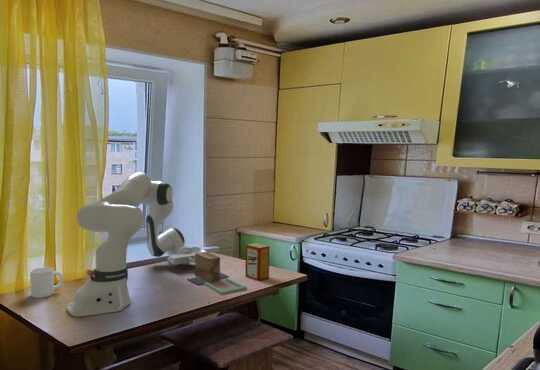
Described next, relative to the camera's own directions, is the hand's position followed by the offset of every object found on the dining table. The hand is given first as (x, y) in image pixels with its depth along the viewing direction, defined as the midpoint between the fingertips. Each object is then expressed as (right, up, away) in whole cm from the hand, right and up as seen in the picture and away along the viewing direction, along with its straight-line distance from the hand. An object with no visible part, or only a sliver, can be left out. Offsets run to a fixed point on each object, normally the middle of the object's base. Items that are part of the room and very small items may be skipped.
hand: (196, 260), depth 206 cm
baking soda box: (+30, -7, -6) cm, 31 cm away
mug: (-55, -8, -34) cm, 66 cm away
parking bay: (+16, -8, -21) cm, 27 cm away
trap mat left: (+3, -7, -14) cm, 16 cm away
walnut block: (+7, -7, -8) cm, 13 cm away
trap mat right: (+11, -6, -4) cm, 14 cm away
